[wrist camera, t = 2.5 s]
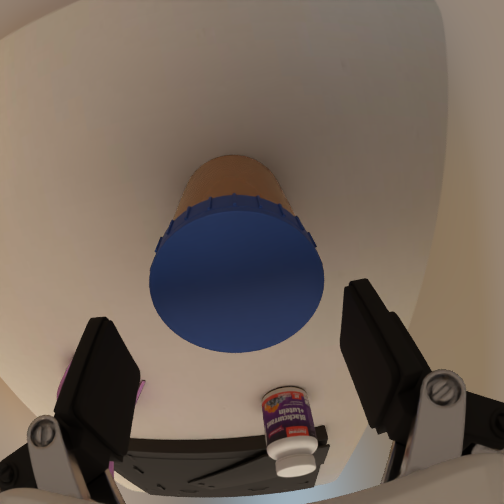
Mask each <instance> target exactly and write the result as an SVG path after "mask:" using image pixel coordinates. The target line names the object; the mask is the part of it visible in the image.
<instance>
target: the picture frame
mask: <svg viewBox="0 0 504 504" xmlns="http://www.w3.org/2000/svg"><path fill="white" fill-rule="evenodd" d="M315 432H316V436H317V441H318V447H317V449H316V451H315V452H314V453H313V454H311V455H313V456H314V458H315V464H316V469H315V470H314V471H313V472H311V473H308V474H305V475H302V476H296V477H281V476H278V475H277V472H276V464H275V463H276V461H277V460H274V459H272V458H271V457H270V456H269V455H268V453H267V448H266V438H265V435H264V436H255V437H244V438H232V439H216V440H147V439H131V438H130V440H129V446H128V452H127V455H125V456H124V457H123V463H122V462H114V471H116V472H117V473H118V474H120V475H121V476H123V477H124V478H126V479H127V480H128V481H130V482H131V483H133V484H134V485H136V486H137V487H139V488H140V489H142V490H144V491H145V492H147V493H149V494H150V495H161V496H175V497H238V496H253V495H264V494H273V493H281V492H288V491H295V490H301V489H307V488H312V487H314V485H315V482H316V479H317V475H318V472H319V469H320V465H321V464H324V461H325V458H326V456H327V453H328V450H329V447H330V445H329V444H327V440H328V436H327V432H326V428H325V426H321V427H315ZM326 444H327V445H326Z"/></svg>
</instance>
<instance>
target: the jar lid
mask: <svg viewBox="0 0 504 504" xmlns="http://www.w3.org/2000/svg"><path fill="white" fill-rule="evenodd" d="M315 247H317V246H316V244H315V242H314V240H313V238H312V236H311V234H310V233H309V232H308V233H307V231H306V230H305V228H304V227H303V225H302V223H301V222H300V220H299V218H298V217H297V216H296V217H295V216H293V215H292V214H291V213H290V212H289V211H287V210H286V209H284V208H283V207H282V205H281V204H280V203H279V204H278V205H277V204H275V203H273V202H271V201H269V200H265V199H262V198H260V196H259V195H257V197H254V196H248V195H236V193H233V195H227V196H220V197H215V198H212V197H209V199H208V200H205V201H203V202H200V203H198V204H196V205H194V206H192V207H190V206H188V207H187V210H186V211H185V212H183V213H182V214H181V215H180V216H179V217H177V218H176V219H175V220H172V221H171V222H170V225H169V227H168V229H167V231H166V232H165V234H164V236H163V237H160V240H159V242H158V244H157V247H156V249H155V252H156V255H155V257H154V260H153V262H152V265H151V268H150V277H149V288H150V294H151V298H152V301H153V304H154V307H155V309H156V311H157V313H158V314H159V316H160V317H161V319H162V320H163V321H164V323H165V324H166V325H167V326H168V327H169V328H170V329H171V330H172V331H173V332H175V333H176V334H177V335H179V336H180V337H181V338H183V339H185V340H186V341H188V342H190V343H192V344H194V345H197V346H199V347H202V348H205V349H209V350H213V351H218V352H227V353H242V352H251V351H257V350H261V349H265V348H268V347H271V346H273V345H276V344H278V343H280V342H282V341H284V340H286V339H288V338H289V337H291V336H292V335H294V334H295V333H296V332H298V331H299V330H300V329H301V328H302V327H303V326H304V325H305V324H306V323H307V322H308V321H309V320H310V318H311V317H312V316H313V314H314V313H315V311H316V309H317V307H318V305H319V303H320V300H321V297H322V293H323V289H324V270H323V266H322V265H323V264H322V262H321V259H320V257H319V255H318V252H317V250H316V248H315Z"/></svg>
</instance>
